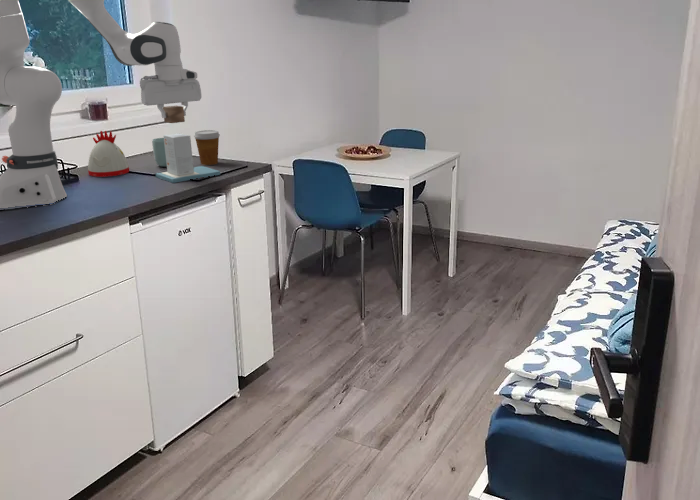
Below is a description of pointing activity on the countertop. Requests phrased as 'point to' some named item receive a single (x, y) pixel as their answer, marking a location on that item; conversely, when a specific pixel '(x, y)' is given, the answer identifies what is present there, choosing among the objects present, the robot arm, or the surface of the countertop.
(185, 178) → the light blue book
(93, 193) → the countertop surface
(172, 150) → the small box
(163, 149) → the cup
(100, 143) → the kitchen timer
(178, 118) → the walnut block
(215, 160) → the disposable coffee cup
